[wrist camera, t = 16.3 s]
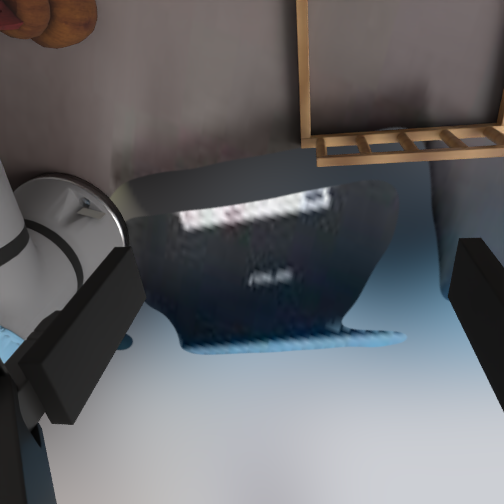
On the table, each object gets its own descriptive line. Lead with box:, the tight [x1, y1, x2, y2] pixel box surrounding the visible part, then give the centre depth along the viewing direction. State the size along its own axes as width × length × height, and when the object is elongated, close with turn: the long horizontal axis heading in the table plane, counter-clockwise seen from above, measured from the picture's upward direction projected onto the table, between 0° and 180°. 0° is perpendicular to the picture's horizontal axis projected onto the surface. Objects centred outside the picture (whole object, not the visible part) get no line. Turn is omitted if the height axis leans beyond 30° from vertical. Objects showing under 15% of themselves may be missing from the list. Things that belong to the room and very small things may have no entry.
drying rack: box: [296, 0, 504, 167], centre depth 33 cm, size 20×18×8 cm
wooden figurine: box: [0, 0, 97, 49], centre depth 31 cm, size 7×6×15 cm
